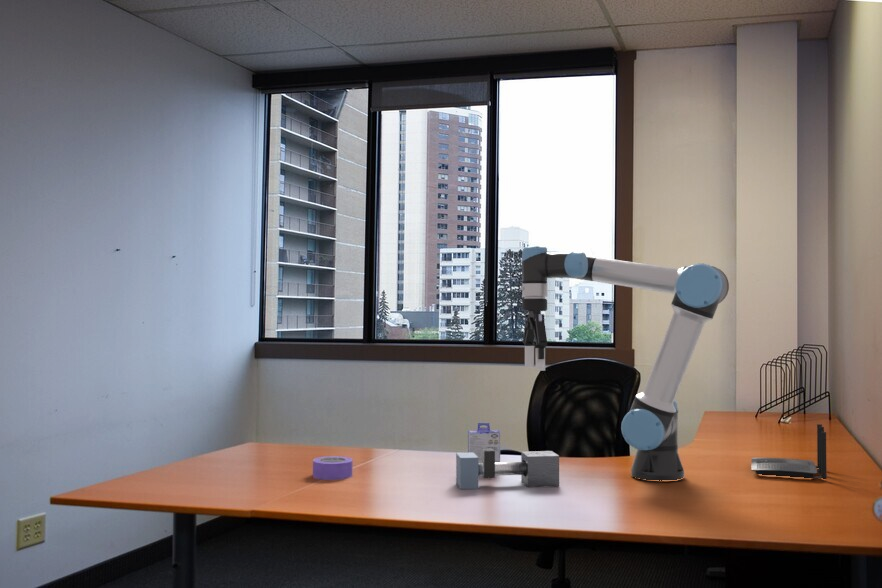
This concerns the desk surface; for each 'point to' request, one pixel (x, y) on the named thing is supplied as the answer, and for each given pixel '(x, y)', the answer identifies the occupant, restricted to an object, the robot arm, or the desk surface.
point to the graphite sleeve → (540, 468)
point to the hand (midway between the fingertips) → (534, 368)
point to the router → (795, 462)
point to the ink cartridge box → (484, 441)
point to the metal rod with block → (498, 465)
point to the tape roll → (332, 468)
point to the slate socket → (467, 470)
